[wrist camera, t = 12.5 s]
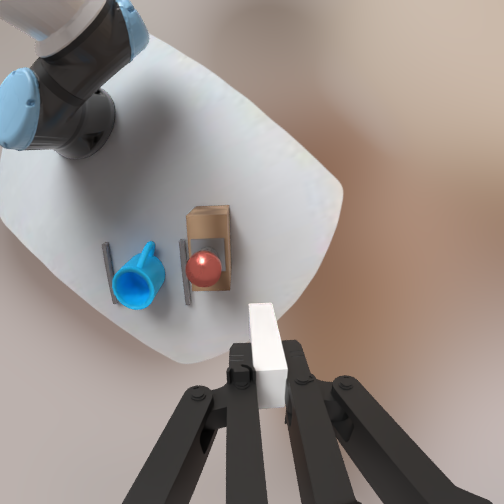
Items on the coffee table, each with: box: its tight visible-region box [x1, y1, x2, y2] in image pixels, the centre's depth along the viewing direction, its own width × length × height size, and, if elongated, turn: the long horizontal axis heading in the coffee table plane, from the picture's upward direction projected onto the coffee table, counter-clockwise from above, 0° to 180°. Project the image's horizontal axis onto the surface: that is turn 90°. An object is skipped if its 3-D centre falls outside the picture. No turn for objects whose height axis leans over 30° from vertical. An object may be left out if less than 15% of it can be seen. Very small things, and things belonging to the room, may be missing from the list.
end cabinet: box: [186, 205, 231, 291], centre depth 46 cm, size 6×12×11 cm, turn 1°
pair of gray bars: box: [102, 239, 191, 305], centre depth 52 cm, size 13×17×2 cm
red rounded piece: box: [186, 247, 222, 287], centre depth 38 cm, size 5×5×6 cm
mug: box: [112, 241, 165, 310], centre depth 49 cm, size 12×8×8 cm
